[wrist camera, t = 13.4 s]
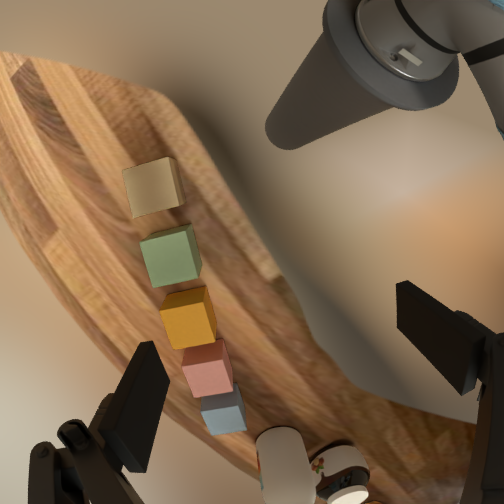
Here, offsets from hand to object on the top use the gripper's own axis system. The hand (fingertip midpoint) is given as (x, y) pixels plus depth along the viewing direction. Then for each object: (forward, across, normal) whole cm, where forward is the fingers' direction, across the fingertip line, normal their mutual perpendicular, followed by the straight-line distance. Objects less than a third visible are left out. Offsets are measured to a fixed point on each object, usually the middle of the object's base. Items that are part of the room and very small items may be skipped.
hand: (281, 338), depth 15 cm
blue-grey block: (+21, -9, -21) cm, 31 cm away
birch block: (+21, -9, +9) cm, 25 cm away
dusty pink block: (+21, -9, -13) cm, 26 cm away
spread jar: (+21, +6, -44) cm, 49 cm away
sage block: (+21, -9, +2) cm, 23 cm away
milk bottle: (+21, -3, -33) cm, 39 cm away
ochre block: (+21, -9, -6) cm, 24 cm away
